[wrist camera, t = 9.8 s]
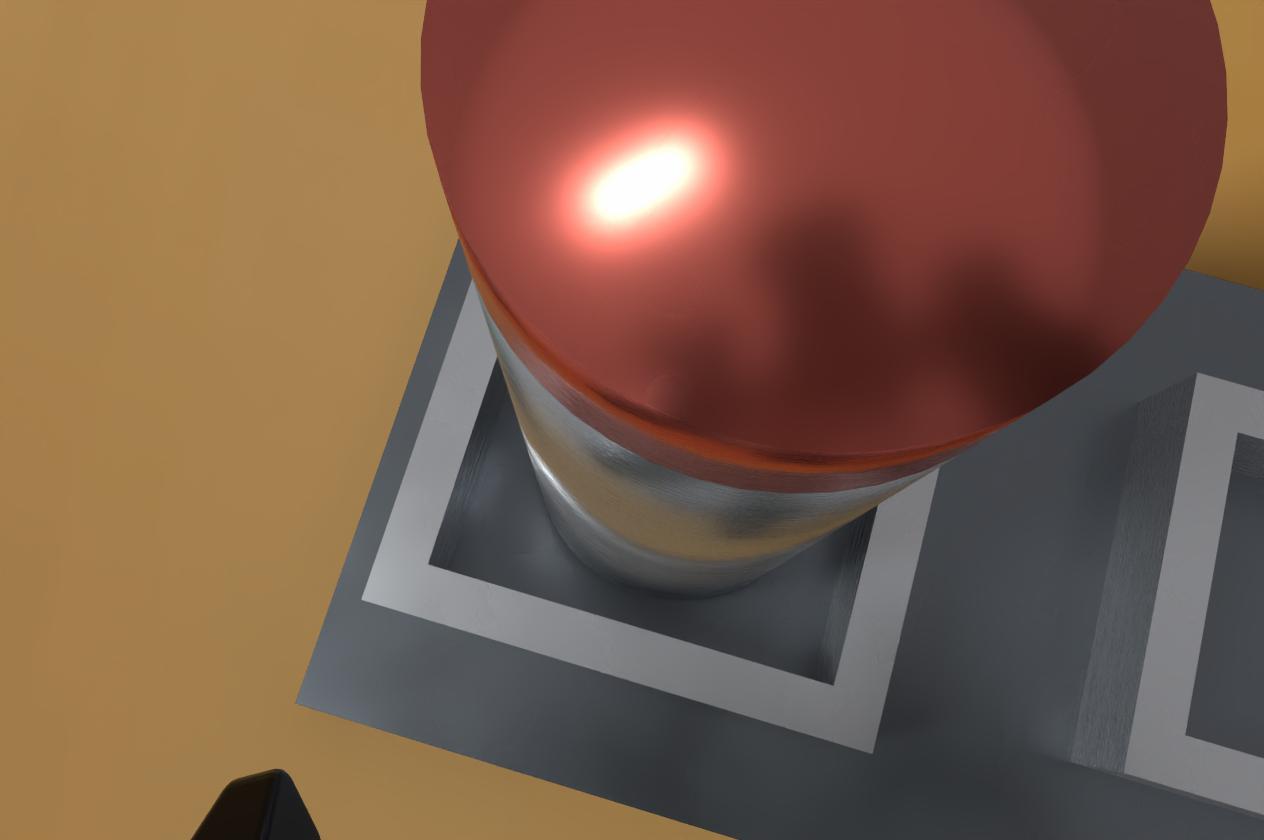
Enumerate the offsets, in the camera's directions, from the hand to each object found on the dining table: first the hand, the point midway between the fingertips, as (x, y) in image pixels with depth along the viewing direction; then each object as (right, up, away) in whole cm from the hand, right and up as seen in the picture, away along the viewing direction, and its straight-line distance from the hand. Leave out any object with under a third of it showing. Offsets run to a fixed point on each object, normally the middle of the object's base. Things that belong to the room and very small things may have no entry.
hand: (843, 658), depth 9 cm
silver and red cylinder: (-1, +1, +11) cm, 11 cm away
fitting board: (+5, -1, +12) cm, 12 cm away
